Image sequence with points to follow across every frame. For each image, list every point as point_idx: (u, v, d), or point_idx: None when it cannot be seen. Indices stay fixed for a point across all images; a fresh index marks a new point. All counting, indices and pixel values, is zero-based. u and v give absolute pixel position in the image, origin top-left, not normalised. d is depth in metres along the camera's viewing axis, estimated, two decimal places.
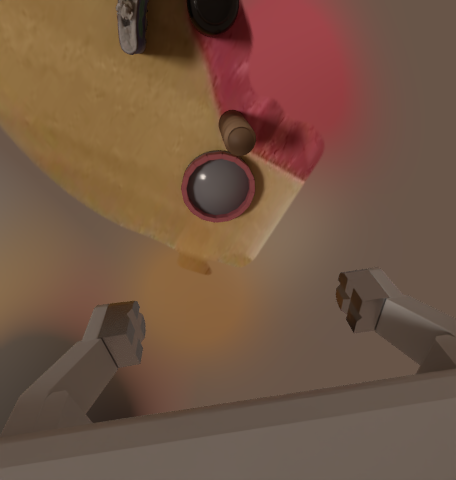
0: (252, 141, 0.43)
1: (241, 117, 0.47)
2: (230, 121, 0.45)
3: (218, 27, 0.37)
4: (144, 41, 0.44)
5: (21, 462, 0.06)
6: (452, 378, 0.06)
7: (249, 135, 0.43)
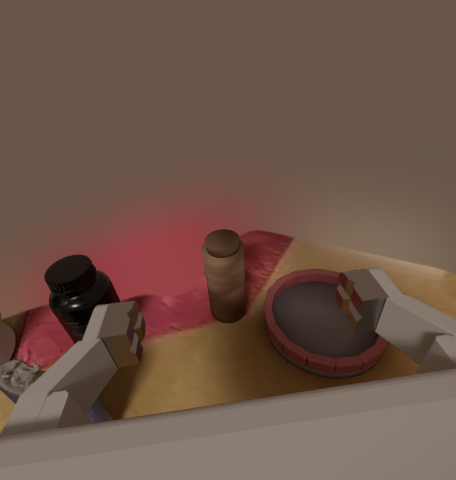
0: (221, 230, 0.34)
1: None
2: (206, 272, 0.34)
3: (101, 280, 0.33)
4: None
5: (21, 462, 0.06)
6: (452, 378, 0.06)
7: (214, 233, 0.34)
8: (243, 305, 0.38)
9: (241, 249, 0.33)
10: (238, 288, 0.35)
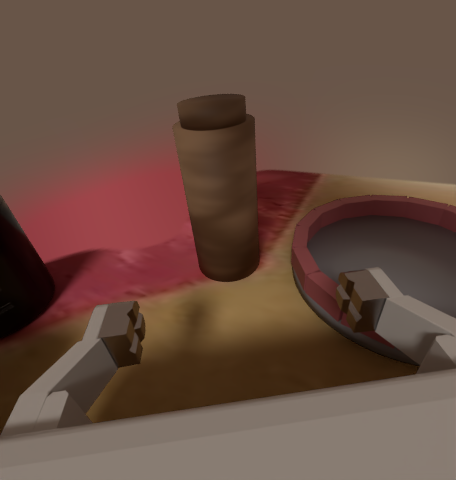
0: (210, 95, 0.18)
1: None
2: (184, 177, 0.18)
3: None
4: None
5: (21, 462, 0.06)
6: (452, 378, 0.06)
7: (196, 98, 0.18)
8: (255, 248, 0.21)
9: (250, 120, 0.17)
10: (246, 207, 0.18)
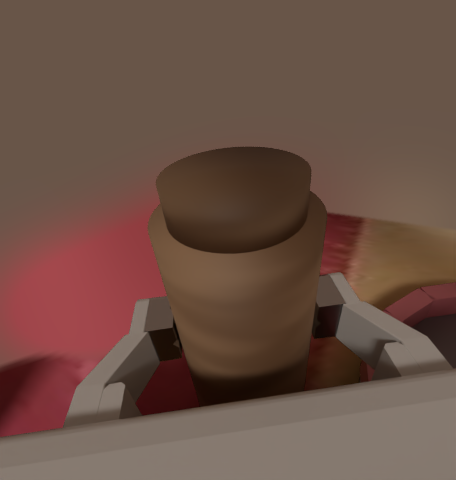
0: (228, 149, 0.09)
1: None
2: (173, 315, 0.09)
3: None
4: None
5: (21, 462, 0.06)
6: (452, 378, 0.06)
7: (198, 158, 0.08)
8: None
9: (318, 214, 0.08)
10: (297, 367, 0.09)
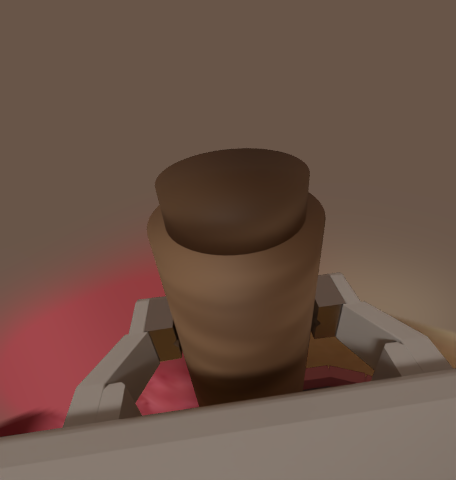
0: (227, 151, 0.09)
1: None
2: (172, 316, 0.09)
3: None
4: None
5: (21, 462, 0.06)
6: (452, 378, 0.06)
7: (197, 159, 0.08)
8: None
9: (316, 216, 0.08)
10: (295, 368, 0.09)
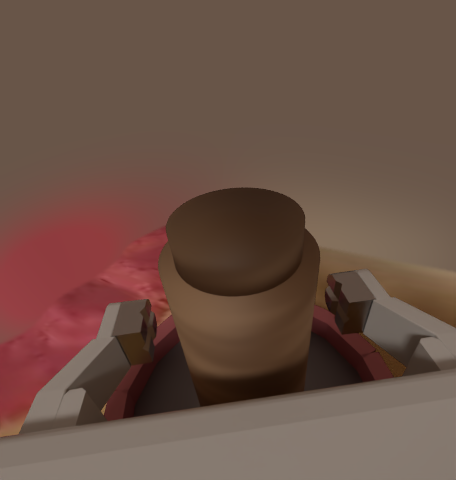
0: (230, 191, 0.10)
1: None
2: (181, 343, 0.10)
3: None
4: None
5: (21, 462, 0.06)
6: (452, 378, 0.06)
7: (203, 200, 0.09)
8: None
9: (311, 255, 0.08)
10: (294, 388, 0.10)
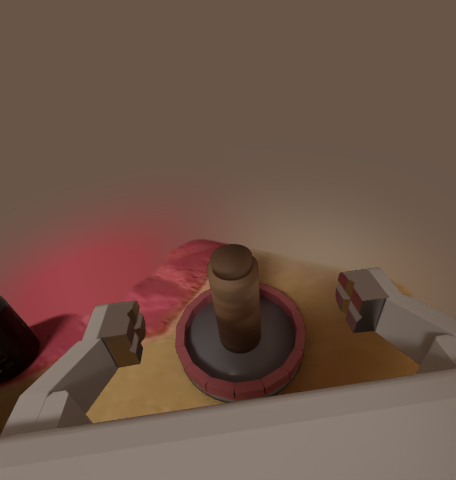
0: (230, 245, 0.28)
1: None
2: (213, 297, 0.28)
3: None
4: None
5: (21, 462, 0.06)
6: (452, 378, 0.06)
7: (221, 249, 0.28)
8: (258, 332, 0.32)
9: (255, 268, 0.27)
10: (252, 314, 0.29)
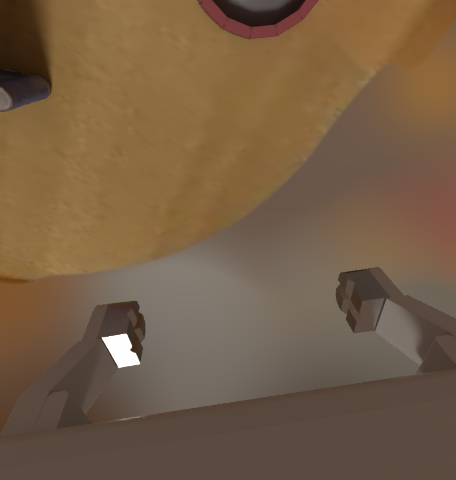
0: None
1: None
2: None
3: None
4: (29, 76, 0.31)
5: (21, 462, 0.06)
6: (452, 378, 0.06)
7: None
8: None
9: None
10: None
